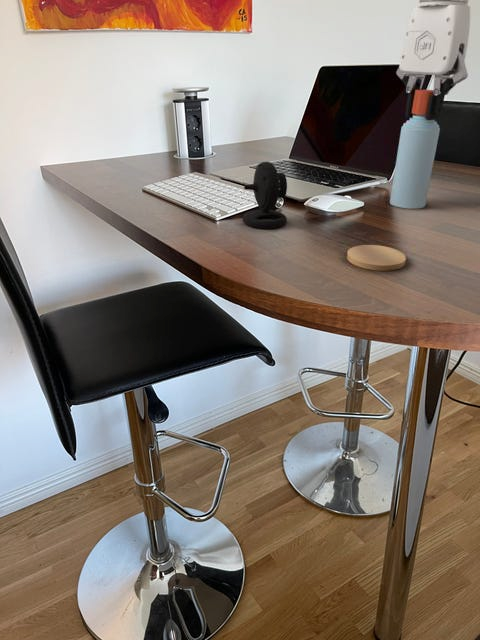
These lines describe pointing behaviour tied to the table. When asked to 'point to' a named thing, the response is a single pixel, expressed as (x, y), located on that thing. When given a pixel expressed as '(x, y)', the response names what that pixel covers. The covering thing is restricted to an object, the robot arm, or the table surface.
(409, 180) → the bottle
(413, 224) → the table surface
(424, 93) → the cap
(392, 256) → the coaster
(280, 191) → the webcam
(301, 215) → the table surface
